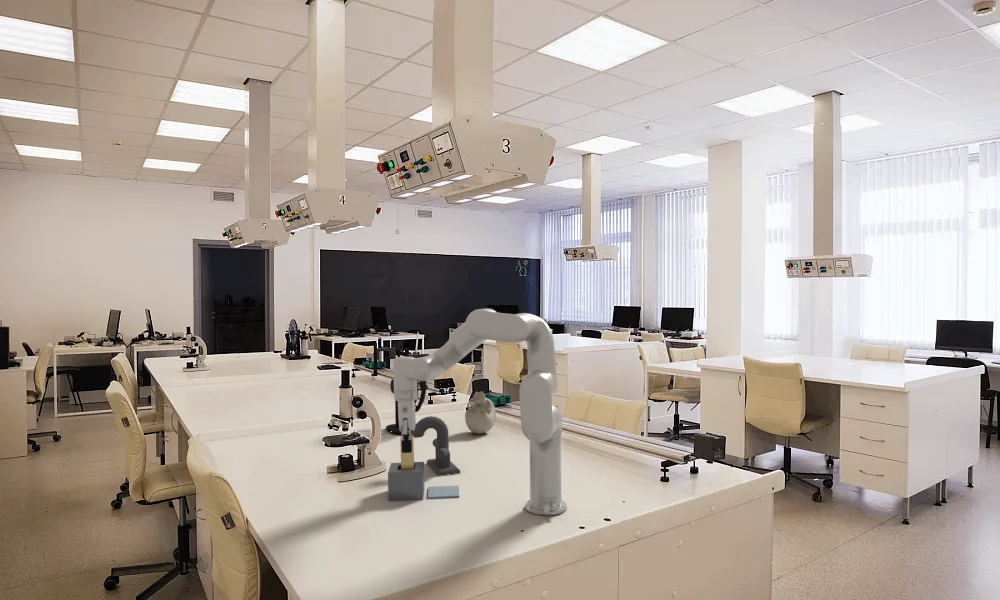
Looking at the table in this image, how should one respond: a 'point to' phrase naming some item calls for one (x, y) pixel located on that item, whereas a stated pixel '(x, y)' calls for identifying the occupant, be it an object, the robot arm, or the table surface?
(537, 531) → the table surface
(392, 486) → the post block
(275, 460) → the table surface
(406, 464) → the brass peg
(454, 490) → the rubber pad
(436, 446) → the faucet
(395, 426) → the desk fan
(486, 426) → the skull
